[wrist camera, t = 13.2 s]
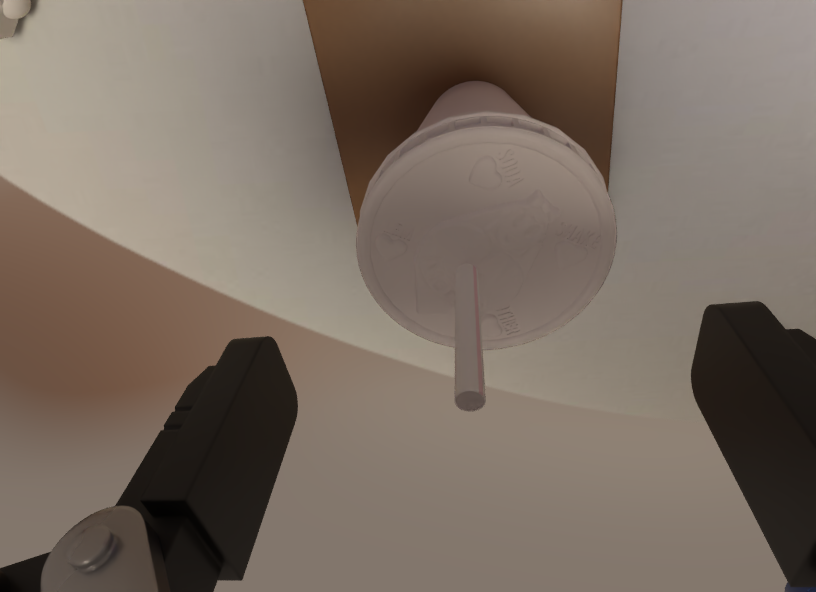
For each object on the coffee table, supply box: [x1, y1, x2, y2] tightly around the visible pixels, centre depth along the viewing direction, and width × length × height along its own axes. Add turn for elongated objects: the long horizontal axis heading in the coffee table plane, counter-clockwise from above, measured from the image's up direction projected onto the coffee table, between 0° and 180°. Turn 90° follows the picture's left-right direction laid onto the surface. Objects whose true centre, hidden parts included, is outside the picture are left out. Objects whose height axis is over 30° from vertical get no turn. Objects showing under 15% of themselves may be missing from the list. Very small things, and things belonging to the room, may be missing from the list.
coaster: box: [303, 0, 622, 227], centre depth 20 cm, size 11×11×1 cm
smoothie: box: [356, 81, 617, 411], centre depth 14 cm, size 6×6×14 cm
